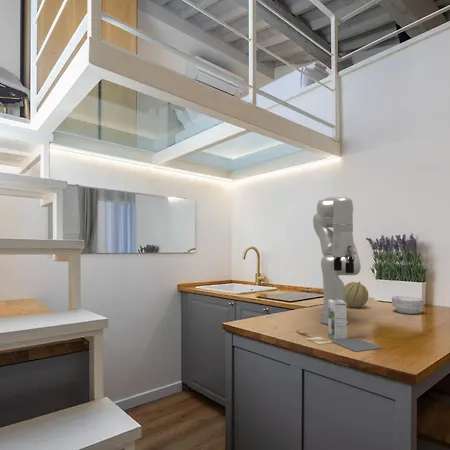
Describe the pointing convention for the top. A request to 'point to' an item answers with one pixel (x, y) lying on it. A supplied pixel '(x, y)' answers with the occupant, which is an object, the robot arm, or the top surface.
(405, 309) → the paper bowls
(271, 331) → the top surface
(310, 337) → the turner
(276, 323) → the top surface
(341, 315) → the syrup box
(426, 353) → the top surface
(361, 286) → the cantaloupe
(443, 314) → the top surface
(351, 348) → the mat
